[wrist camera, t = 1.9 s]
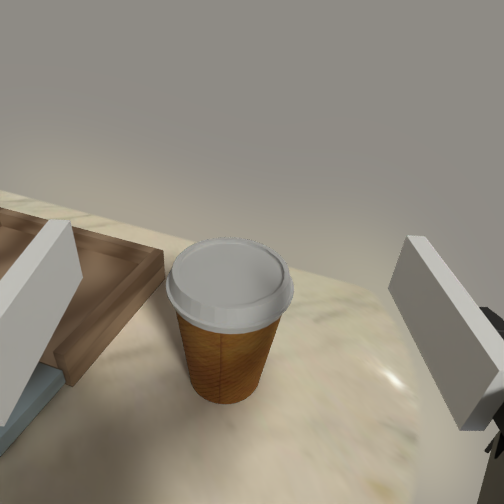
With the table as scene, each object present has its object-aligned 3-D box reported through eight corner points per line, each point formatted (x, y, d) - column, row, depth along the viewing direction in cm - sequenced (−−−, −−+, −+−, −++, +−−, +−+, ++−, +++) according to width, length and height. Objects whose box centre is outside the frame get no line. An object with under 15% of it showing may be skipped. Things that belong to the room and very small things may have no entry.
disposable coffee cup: (213, 321, 40) (217, 222, 34) (295, 363, 37) (317, 261, 30) (148, 384, 33) (135, 276, 27) (240, 445, 30) (252, 337, 23)
